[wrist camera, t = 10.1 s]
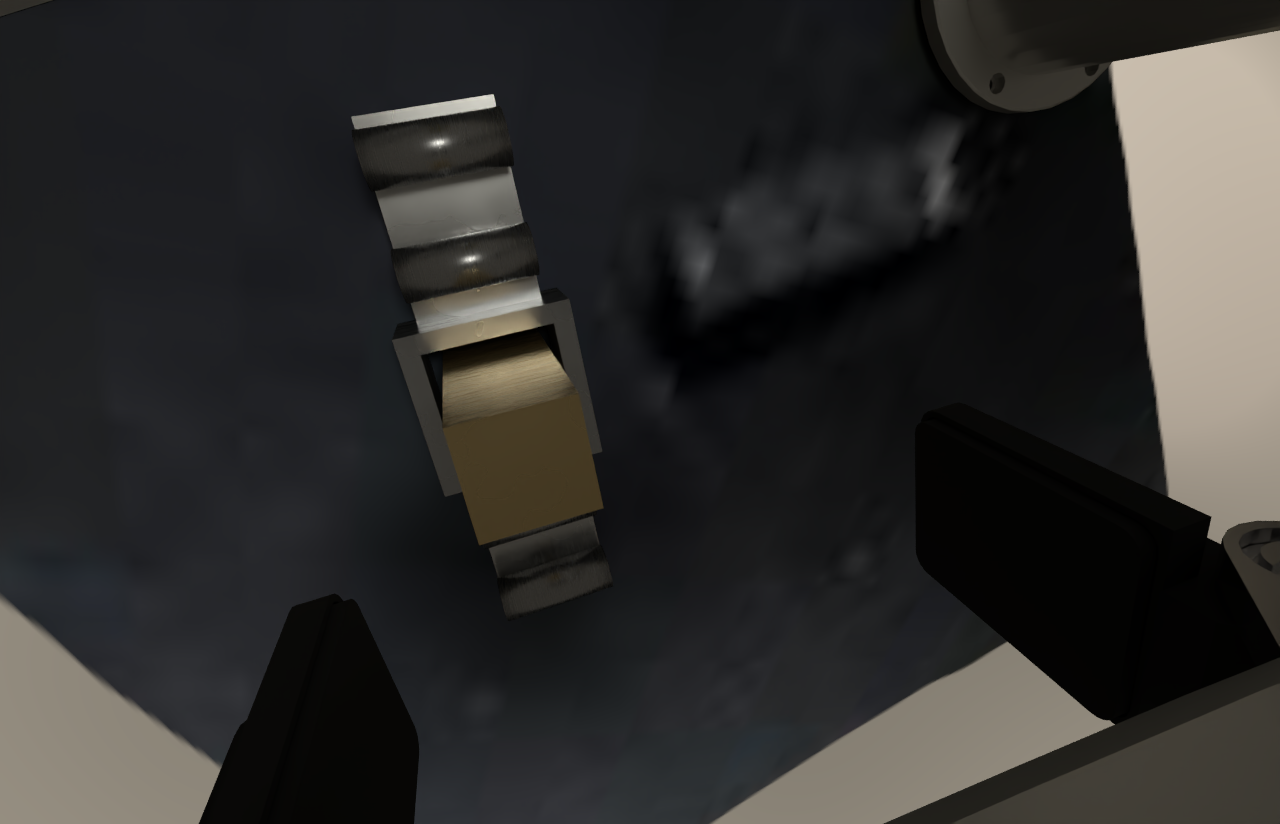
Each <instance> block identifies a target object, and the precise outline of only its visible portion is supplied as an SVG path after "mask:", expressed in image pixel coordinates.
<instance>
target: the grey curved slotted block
mask: <svg viewBox="0 0 1280 824" xmlns="http://www.w3.org/2000/svg"><path fill="white" fill-rule="evenodd" d="M48 1H51V0H0V16H4V15H7V14H10V13H13V12H16V11H20V10H23V9H26V8H29V7H32V6H35V5H39V4H42V3H45V2H48Z"/></svg>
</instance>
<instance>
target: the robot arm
mask: <svg viewBox="0 0 1280 824" xmlns="http://www.w3.org/2000/svg"><path fill="white" fill-rule="evenodd" d="M920 3H921V12H922V18H923V22H924V26H925V30H926V34H927V37H928V41H929V45H930V47H931V49H932V51H933V53H934V56H935V58H936V60H937V62H938V64H939V67H940V68H941V70H942V71H943V72H944V74H945V75H946V77H947V78H948V79H949V81H950V82H951V84H952V85H953V86H954V87H955V88H956V89H957V90H958V91H959V92H960V93H962V94H963V95H964V96H965V97H966V98H967V99H968V100H970V101H971V102H973V103H975V104H977V105H979V106H981V107H983V108H985V109H987V110H991V111H996V112H1001V113H1006V114H1010V113H1024V112H1033V111H1038V110H1043V109H1048V108H1052V107H1054V106H1056V105H1059V104H1061V103H1063V102H1065V101H1067V100H1070V99H1072V98H1073V97H1074V96H1076V95H1077V94H1079V93H1080V92H1081V91H1083V90H1084V89H1086V88H1087V87H1088V86H1090V85H1091V84H1092V83H1093V82H1094V81H1095V80H1096V79H1097V78H1098V77H1099V76H1100V75H1101V74H1102V73H1103V72H1104V71H1105V70H1106V69H1107V68H1108V67H1109V65H1110V64H1111V63H1112V62H1113V61H1118V60H1124V59H1129V58H1135V57H1140V56H1145V55H1151V54H1156V53H1161V52H1167V51H1172V50H1177V49H1183V48H1188V47H1194V46H1199V45H1204V44H1210V43H1215V42H1220V41H1226V40H1230V39H1236V38H1242V37H1247V36H1252V35H1258V34H1263V33H1268V32H1274V31H1279V30H1280V0H920ZM915 477H916V554H917V557H918V560H919V562H920V564H921V566H922V567H923V569H924V570H925V571H926V572H927V573H928V574H929V575H931V576H932V577H933V578H934V579H935V580H936V581H938V582H939V583H940V584H941V585H942V586H943V587H945V588H946V589H947V590H948V591H949V592H950V593H952V594H953V595H954V596H955V597H956V598H957V599H959V600H960V601H961V602H962V603H963V604H964V605H966V606H967V607H968V608H969V609H970V610H971V611H973V612H974V613H975V614H976V615H977V616H978V617H980V618H981V619H982V620H983V621H984V622H985V623H987V624H988V625H989V626H990V627H991V628H992V629H994V630H995V631H996V632H997V633H998V634H1000V635H1001V636H1002V637H1003V638H1004V639H1005V640H1007V641H1008V642H1009V643H1010V644H1011V645H1012V646H1014V647H1015V648H1016V649H1017V650H1018V651H1019V652H1021V653H1022V654H1023V655H1024V656H1025V657H1026V658H1028V659H1029V660H1030V661H1031V662H1032V663H1033V664H1035V665H1036V666H1037V667H1038V668H1039V669H1040V670H1042V671H1043V672H1044V673H1045V674H1046V675H1047V676H1049V677H1050V678H1051V679H1052V680H1053V681H1055V682H1056V683H1057V684H1058V685H1059V686H1060V687H1061V688H1063V689H1064V690H1065V691H1066V692H1067V693H1068V694H1070V695H1071V696H1072V697H1073V698H1074V699H1076V700H1077V701H1078V702H1079V703H1080V704H1081V705H1082V706H1084V707H1085V708H1086V709H1087V710H1088V711H1090V712H1091V713H1092V714H1094V715H1095V716H1096V717H1098V718H1100V719H1103V720H1110V721H1111V722H1112V723H1114V724H1115V725H1113V726H1111V727H1109V728H1106V729H1104V730H1102V731H1099V732H1097V733H1095V734H1092V735H1090V736H1087V737H1085V738H1083V739H1080V740H1078V741H1076V742H1073V743H1071V744H1069V745H1066V746H1064V747H1062V748H1059V749H1057V750H1054V751H1052V752H1050V753H1047V754H1045V755H1043V756H1040V757H1038V758H1036V759H1033V760H1031V761H1028V762H1026V763H1024V764H1021V765H1019V766H1017V767H1014V768H1012V769H1010V770H1007V771H1005V772H1003V773H1000V774H998V775H996V776H993V777H991V778H989V779H986V780H984V781H982V782H980V783H977V784H975V785H973V786H970V787H968V788H965V789H963V790H961V791H958V792H956V793H954V794H951V795H949V796H947V797H945V798H942V799H940V800H938V801H935V802H933V803H931V804H928V805H926V806H924V807H921V808H919V809H917V810H914V811H912V812H910V813H907V814H905V815H903V816H900V817H898V818H896V819H893V820H891V821H889V822H887V823H884V824H1280V521H1254V522H1248V523H1243V524H1238V525H1236V526H1234V527H1232V528H1230V529H1229V530H1227V532H1226V533H1225V535H1224V537H1223V538H1222V543H1221V544H1219V543H1217V542H1215V541H1213V540H1210V539H1209V538H1207V535H1208V530H1209V525H1210V521H1211V517H1210V516H1208V515H1206V514H1204V513H1202V512H1200V511H1197V510H1195V509H1193V508H1191V507H1189V506H1187V505H1184V504H1182V503H1180V502H1178V501H1176V500H1173V499H1171V498H1169V497H1167V496H1165V495H1162V494H1160V493H1158V492H1156V491H1154V490H1152V489H1149V488H1147V487H1145V486H1143V485H1141V484H1138V483H1136V482H1134V481H1132V480H1130V479H1127V478H1125V477H1123V476H1121V475H1119V474H1117V473H1114V472H1112V471H1110V470H1108V469H1106V468H1103V467H1101V466H1099V465H1097V464H1095V463H1092V462H1090V461H1088V460H1086V459H1084V458H1082V457H1079V456H1077V455H1075V454H1073V453H1071V452H1068V451H1066V450H1064V449H1062V448H1060V447H1057V446H1055V445H1053V444H1051V443H1049V442H1047V441H1044V440H1042V439H1040V438H1038V437H1036V436H1033V435H1031V434H1029V433H1027V432H1025V431H1022V430H1020V429H1018V428H1016V427H1014V426H1012V425H1009V424H1007V423H1005V422H1003V421H1001V420H998V419H996V418H994V417H992V416H990V415H987V414H985V413H983V412H981V411H979V410H977V409H974V408H972V407H970V406H968V405H966V404H962V403H955V404H951V405H948V406H945V407H942V408H938V409H935V410H932V411H928V412H927V413H925V414H924V416H923V418H922V420H921V423H919V424H918V425H917V427H916V431H915ZM418 761H419V742H418V736H417V732H416V729H415V726H414V724H413V722H412V720H411V717H410V715H409V713H408V711H407V709H406V707H405V705H404V702H403V700H402V698H401V696H400V694H399V692H398V690H397V687H396V685H395V683H394V681H393V679H392V677H391V675H390V672H389V670H388V668H387V666H386V664H385V662H384V660H383V657H382V655H381V653H380V651H379V649H378V647H377V645H376V642H375V640H374V638H373V636H372V634H371V632H370V630H369V627H368V625H367V623H366V621H365V619H364V617H363V615H362V612H361V610H360V608H359V606H358V604H357V603H356V602H355V601H354V600H353V599H349V600H346V601H343V600H342V599H341V598H340V597H339V596H338V595H337V594H332V595H329V596H325V597H322V598H319V599H316V600H312V601H309V602H306V603H302V604H299V605H296V606H294V607H292V609H291V610H290V612H289V614H288V617H287V619H286V622H285V624H284V627H283V629H282V632H281V635H280V637H279V640H278V642H277V645H276V647H275V650H274V652H273V655H272V657H271V660H270V663H269V665H268V668H267V670H266V673H265V675H264V678H263V680H262V683H261V685H260V688H259V691H258V693H257V696H256V698H255V701H254V703H253V706H252V708H251V711H250V713H249V716H248V719H247V720H246V721H245V722H244V723H243V724H241V725H240V727H239V729H238V730H237V732H236V734H235V736H234V738H233V740H232V743H231V745H230V748H229V750H228V753H227V755H226V758H225V760H224V763H223V765H222V768H221V770H220V773H219V775H218V778H217V780H216V783H215V785H214V787H213V790H212V792H211V795H210V797H209V800H208V802H207V805H206V807H205V810H204V812H203V815H202V817H201V820H200V822H199V824H414V816H415V802H416V789H417V775H418Z"/></svg>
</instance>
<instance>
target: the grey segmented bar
mask: <svg viewBox="0 0 1280 824" xmlns="http://www.w3.org/2000/svg"><path fill="white" fill-rule="evenodd" d="M351 118H352V121H353V124H354V127H355V130H352V137H353V141H354V145H355V149H356V152H357V156H358V159H359V162H360V165H361V168H362V171H363V173H364V176H365V179H366V181H367V184H368V186H369V188H370V190H371V191H372V192H375V193H376V196H377V199H378V202H379V205H380V208H381V212H382V215H383V218H384V221H385V224H386V227H387V230H388V233H389V237H390V240H391V243H392V246H393V249H391V257H392V262H393V266H394V270H395V273H396V276H397V280H398V283H399V286H400V289H401V291H402V294H403V296H404V299H405V301H406V303H407V304H409V303H411V306H412V309H413V312H414V315H415V318H416V320H413V321H408V322H404V323H400V324H397V327H396V330H395V333H394V336H393V339H392V342H393V345H394V348H395V351H396V353H397V356H398V359H399V362H400V365H401V368H402V371H403V374H404V377H405V380H406V383H407V386H408V389H409V392H410V395H411V398H412V401H413V404H414V407H415V410H416V412H417V415H418V418H419V421H420V424H421V427H422V430H423V433H424V436H425V439H426V442H427V445H428V448H429V451H430V454H431V457H432V460H433V463H434V466H435V469H436V471H437V474H438V477H439V480H440V483H441V486H442V489H443V492H444V495H445V497H446V496H450V495H453V494H457V493H460V492H462V489H461V486H460V483H459V479H458V476H457V473H456V470H455V467H454V463H453V460H452V457H451V454H450V451H449V448H448V444H447V441H446V438H445V435H444V432H443V428H442V422H443V400H442V397H441V393H440V390H439V387H438V384H437V381H436V378H435V375H434V371H433V368H432V365H431V362H430V359H429V356H428V353H432V352H436V351H440V350H444V349H448V348H453V347H457V346H461V345H465V344H469V343H473V342H478V341H482V340H486V339H490V338H494V337H498V336H503V335H507V334H511V333H515V332H519V331H523V330H528V329H532V328H536V327H540V326H544V325H547V329H548V333H549V338H550V342H551V346H552V350H553V354H554V356H555V358H556V359H557V361H558V362H559V364H560V365H561V367H562V368H563V370H564V371H565V373H566V375H567V376H568V378H569V379H570V381H571V382H572V384H573V385H574V387H575V388H576V390H577V391H578V393H579V397H580V401H581V406H582V410H583V415H584V420H585V424H586V429H587V434H588V438H589V443H590V447H591V452H592V454H596V453H599V452H602V447H601V443H600V438H599V434H598V429H597V424H596V420H595V415H594V411H593V406H592V402H591V397H590V392H589V388H588V383H587V379H586V374H585V369H584V365H583V360H582V356H581V351H580V347H579V342H578V337H577V333H576V328H575V324H574V319H573V314H572V310H571V305H570V301H569V298H568V297H566V296H565V295H564V294H563V293H562V292H561V291H560V290H559V289H557V288H553V289H549V290H544V291H540V290H539V286H538V282H537V277H536V275H539V264H538V258H537V253H536V249H535V245H534V241H533V238H532V234H531V231H530V228H529V226H528V224H527V222H523V218H522V214H521V209H520V205H519V201H518V197H517V192H516V188H515V184H514V180H513V175H512V171H511V167H510V166H513V165H514V160H513V152H512V147H511V142H510V137H509V133H508V129H507V125H506V121H505V118H504V115H503V112H502V109H501V107H500V106H496V103H495V99H494V95H493V94H492V95H486V96H479V97H473V98H467V99H461V100H454V101H448V102H442V103H435V104H429V105H423V106H417V107H410V108H404V109H398V110H391V111H385V112H379V113H373V114H366V115H360V116H354V117H351ZM595 515H596V511H592V512H589V513H586V514H582V515H579V516H576V517H572V518H569V519H566V520H562V521H559V522H556V523H552V524H549V525H546V526H542V527H539V528H536V529H532V530H529V531H526V532H522V533H519V534H515V535H512V536H509V537H505V538H502V539H499V540H495V541H492V542H489V543H485V544H483V545H484V548H485V549H488V548H489V550H490V553H491V556H492V559H493V563H494V566H495V569H496V572H497V575H498V578H497V582H498V588H499V592H500V597H501V601H502V604H503V608H504V611H505V614H506V617H507V620H508V621H511V620H514V619H517V618H520V617H523V616H526V615H529V614H532V613H535V612H538V611H541V610H544V609H547V608H550V607H553V606H556V605H559V604H562V603H565V602H568V601H571V600H574V599H577V598H579V597H582V596H585V595H588V594H591V593H594V592H597V591H600V590H603V589H606V588H609V587H612V586H613V581H612V577H611V573H610V569H609V565H608V562H607V559H606V556H605V553H604V551H603V548H602V546H601V545H599V540H598V536H597V532H596V528H595V524H594V519H593V516H595Z"/></svg>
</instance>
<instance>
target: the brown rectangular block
mask: <svg viewBox="0 0 1280 824" xmlns="http://www.w3.org/2000/svg"><path fill="white" fill-rule="evenodd" d="M442 428H443V432H444V435H445V438H446V441H447V444H448V448H449V451H450V454H451V457H452V460H453V463H454V467H455V470H456V473H457V476H458V479H459V483H460V486H461V489H462V492H463V495H464V498H465V502H466V505H467V508H468V511H469V514H470V517H471V521H472V524H473V527H474V530H475V533H476V537H477V540H478V543H479V545H482V544H485V543H489V542H492V541H495V540H499V539H502V538H505V537H509V536H512V535H515V534H519V533H522V532H526V531H529V530H532V529H536V528H539V527H542V526H546V525H549V524H552V523H556V522H559V521H562V520H566V519H569V518H572V517H576V516H579V515H582V514H586V513H589V512H592V511H596V510H599V509H602V508H603V503H602V498H601V494H600V489H599V484H598V480H597V475H596V471H595V466H594V461H593V457H592V452H591V447H590V443H589V438H588V434H587V429H586V424H585V420H584V415H583V410H582V406H581V401H580V397H579V393H578V391H577V390H576V388H575V387H574V385H573V384H572V382H571V381H570V379H569V378H568V376H567V375H566V373H565V371H564V370H563V368H562V367H561V365H560V364H559V362H558V361H557V359H556V358H555V356H554V355H553V353H552V352H551V350H550V349H549V347H548V346H547V344H546V342H545V341H544V339H543V338H542V336H541V335H540V333H539V332H538V330H537V329H536V328H532V329H528V330H523V331H519V332H515V333H511V334H507V335H503V336H498V337H494V338H490V339H486V340H482V341H478V342H473V343H469V344H465V345H461V346H457V347H453V348H448V349H444V350H443V422H442Z"/></svg>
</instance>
